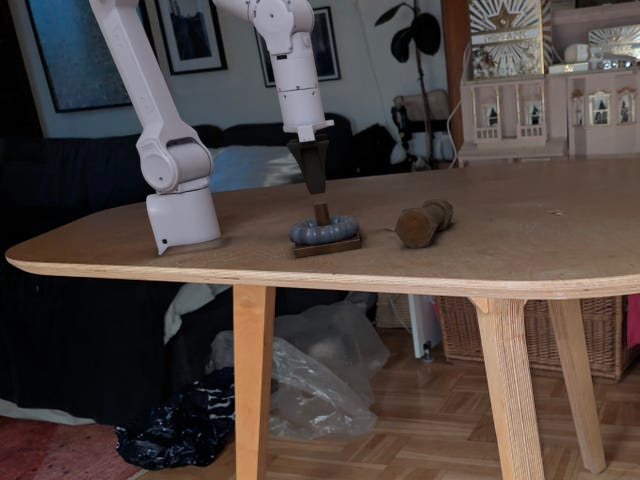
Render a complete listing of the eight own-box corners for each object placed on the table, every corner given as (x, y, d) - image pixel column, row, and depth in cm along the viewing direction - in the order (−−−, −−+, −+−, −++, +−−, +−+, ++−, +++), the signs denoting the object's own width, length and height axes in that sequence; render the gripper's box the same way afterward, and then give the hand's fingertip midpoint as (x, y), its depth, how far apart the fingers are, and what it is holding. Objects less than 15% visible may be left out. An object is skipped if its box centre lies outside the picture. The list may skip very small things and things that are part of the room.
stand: (296, 258, 96) (286, 213, 94) (297, 244, 105) (288, 202, 102) (361, 247, 98) (353, 203, 95) (357, 235, 106) (350, 194, 104)
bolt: (451, 233, 108) (423, 256, 94) (422, 219, 108) (390, 239, 95) (466, 199, 106) (439, 217, 92) (436, 184, 106) (405, 200, 92)
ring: (288, 250, 96) (284, 233, 95) (292, 235, 105) (289, 219, 104) (361, 239, 97) (358, 222, 96) (359, 226, 106) (356, 210, 105)
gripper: (329, 86, 91) (347, 192, 96) (326, 86, 104) (342, 179, 109) (273, 93, 89) (295, 200, 95) (278, 92, 103) (297, 186, 108)
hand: (317, 189), depth 102 cm, fingers open, 7 cm apart
